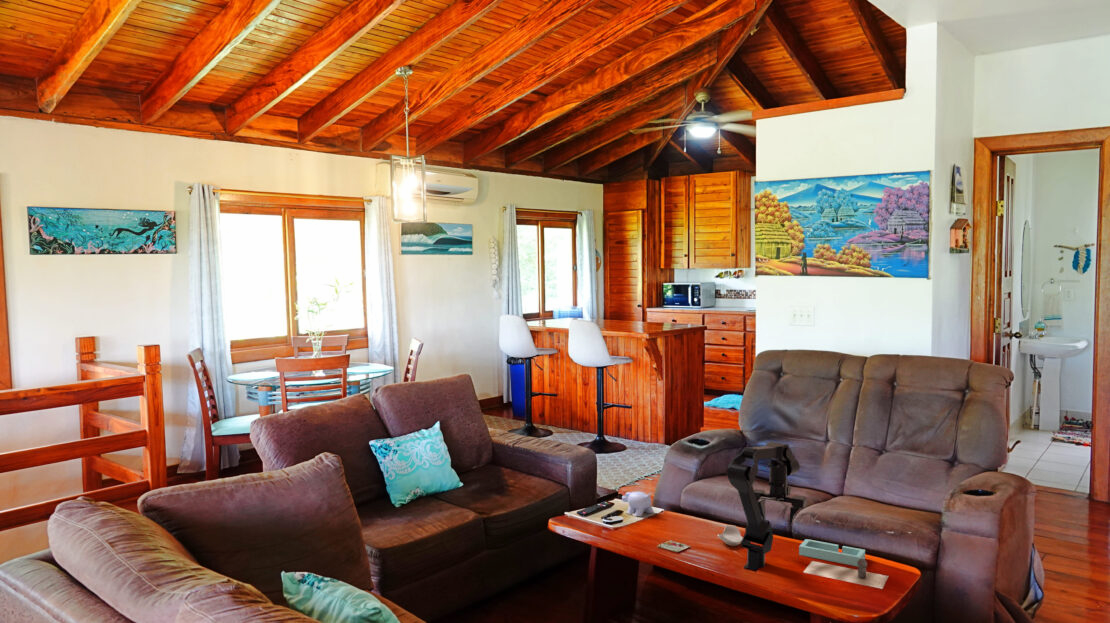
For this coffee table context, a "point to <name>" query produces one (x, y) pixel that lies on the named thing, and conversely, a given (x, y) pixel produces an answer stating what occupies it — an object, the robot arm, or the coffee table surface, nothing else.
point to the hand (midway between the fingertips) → (777, 522)
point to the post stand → (848, 573)
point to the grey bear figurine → (638, 503)
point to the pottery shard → (731, 535)
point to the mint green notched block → (831, 552)
